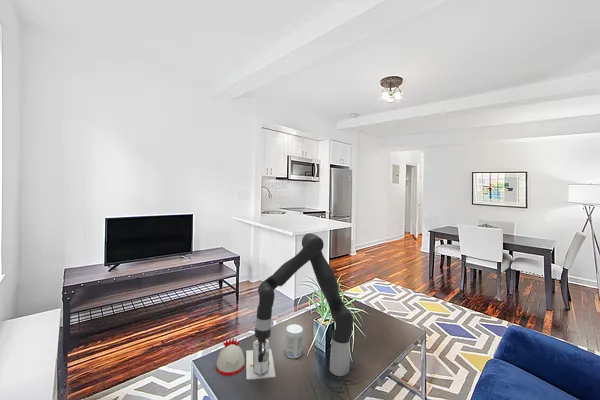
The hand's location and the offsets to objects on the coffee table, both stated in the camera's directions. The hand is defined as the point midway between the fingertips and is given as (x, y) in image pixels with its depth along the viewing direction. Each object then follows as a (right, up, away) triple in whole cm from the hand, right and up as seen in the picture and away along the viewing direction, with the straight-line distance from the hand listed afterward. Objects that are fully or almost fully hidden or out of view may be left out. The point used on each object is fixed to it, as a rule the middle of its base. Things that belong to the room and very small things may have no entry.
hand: (260, 361), depth 128 cm
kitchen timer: (-17, -9, +10) cm, 21 cm away
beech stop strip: (-2, -9, +11) cm, 15 cm away
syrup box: (0, -9, +6) cm, 11 cm away
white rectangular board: (-2, -9, +13) cm, 16 cm away
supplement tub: (+15, -10, +23) cm, 29 cm away
